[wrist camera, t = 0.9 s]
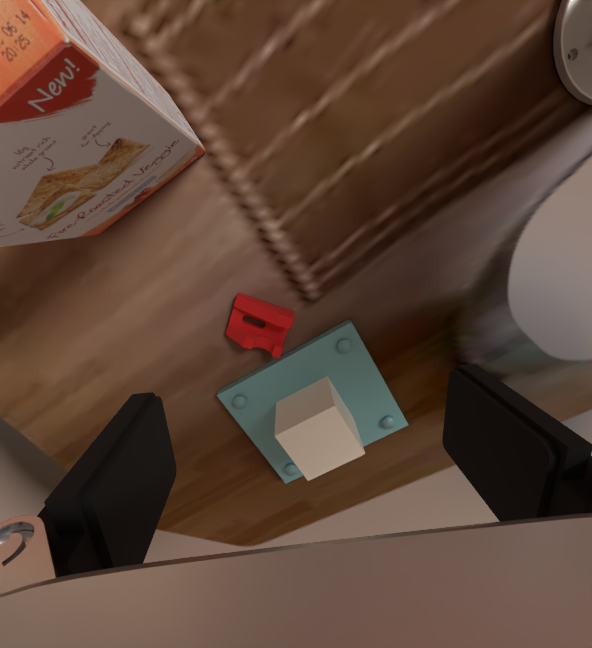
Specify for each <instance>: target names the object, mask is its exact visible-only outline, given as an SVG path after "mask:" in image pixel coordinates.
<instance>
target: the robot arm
mask: <svg viewBox="0 0 592 648" xmlns="http://www.w3.org/2000/svg"><path fill="white" fill-rule="evenodd" d="M553 50H554V59H555V64H556V69H557V71H558V74H559V76H560V79H561V81H562V83H563V84H564V86H565V87H566V88H567V90H568V91H569V92H570V93H571V94H572V95H573V96H574V97H576V98H577V99H578V100H580V101H582V102H584V103H587V104H589V105H592V0H562V1H561V4H560V7H559V11H558V14H557V18H556V22H555V29H554V36H553ZM443 445H444V448H445V450H446V452H447V453H448V454H449V456H450V457H451V458H452V459H453V461H454V462H455V463H456V465H457V466H458V467H459V469H460V470H461V471H462V473H463V474H464V475H465V476H466V478H467V479H468V480H469V482H470V483H471V484H472V486H474V488H475V490H476V491H477V492H478V493H479V495H480V496H481V497H482V499H483V500H484V501H485V502H486V504H487V505H488V506H489V508H490V509H491V510H492V512H493V513H494V514H495V516H496V517H497V518H498V519H499V521H500V522H493V523H484V524H474V525H465V526H456V527H446V528H437V529H429V530H420V531H410V532H402V533H393V534H384V535H375V536H366V537H357V538H349V539H341V540H331V541H323V542H314V543H306V544H297V545H289V546H280V547H272V548H264V549H256V550H248V551H239V552H231V553H222V554H214V555H206V556H198V557H189V558H181V559H173V560H167V561H158V562H151V563H143V561H144V559H145V556H146V553H147V551H148V548H149V546H150V543H151V540H152V538H153V535H154V533H155V530H156V527H157V525H158V522H159V519H160V517H161V514H162V512H163V509H164V506H165V504H166V501H167V498H168V496H169V493H170V490H171V488H172V485H173V483H174V480H175V477H176V463H175V458H174V454H173V449H172V445H171V440H170V436H169V431H168V426H167V422H166V417H165V413H164V408H163V404H162V400H161V398H160V397H159V396H158V397H156V396H155V394H154V393H153V392H152V393H140V394H133V395H132V396H131V397H130V398H129V399H128V400H127V402H126V403H125V404H124V405H123V406H122V408H121V409H120V410H119V411H118V413H117V414H116V415H115V416H114V417H113V419H112V420H111V421H110V422H109V424H108V425H107V426H106V427H105V428H104V430H103V431H102V432H101V433H100V435H99V436H98V437H97V438H96V439H95V441H94V442H93V443H92V444H91V445H90V447H89V448H88V449H87V450H86V452H85V453H84V454H83V455H82V456H81V458H80V459H79V460H78V461H77V463H76V464H75V465H74V466H73V467H72V469H71V470H70V471H69V472H68V474H67V475H66V476H65V477H64V479H63V480H62V481H61V482H60V483H59V485H58V486H57V487H56V488H55V489H54V491H53V492H52V493H51V494H50V496H49V497H48V498H47V499H46V501H45V502H44V503H45V505H46V506H45V507H44V508H43V509H42V511H41V512H40V513H39V514H38V516H34V515H26V516H25V515H24V516H20V517H15V518H12V519H9V520H6V521H4V522H2V523H0V648H592V456H590V455H591V452H592V444H591V443H589V442H588V441H586V440H585V439H584V438H582V437H581V436H579V435H578V434H576V433H575V432H573V431H572V430H570V429H569V428H568V427H566V426H564V425H563V424H562V423H560V422H559V421H557V420H556V419H555V418H553V417H552V416H550V415H549V414H547V413H546V412H544V411H543V410H541V409H540V408H539V407H537V406H536V405H534V404H533V403H531V402H530V401H528V400H527V399H525V398H524V397H523V396H521V395H520V394H518V393H517V392H515V391H514V390H512V389H511V388H510V387H508V386H507V385H505V384H504V383H502V382H501V381H499V380H498V379H496V378H495V377H494V376H492V375H491V374H489V373H488V372H486V371H485V370H483V369H482V368H481V367H479V366H478V365H475V364H472V365H461V366H456V367H455V368H454V371H451V372H450V374H449V381H448V391H447V401H446V410H445V420H444V429H443Z"/></svg>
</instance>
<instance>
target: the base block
mask: <svg viewBox="0 0 592 648" xmlns="http://www.w3.org/2000/svg"><path fill="white" fill-rule="evenodd" d="M275 437H276V439H277V440H278V441H279V443H280V444H281V445H282V447H283V448H284V449H285V451H286V452H287V453H288V455H289V456H290V457H291V459H292V460H293V462H294V463H295V464H296V466H297V467H298V468H299V470H300V471H301V472H302V474H303V475H304V476H305V478H306V479H307V480H308V481H309V480H311V479H313V478H316V477H318V476H320V475H322V474H324V473H326V472H328V471H330V470H332V469H335V468H337V467H339V466H341V465H343V464H345V463H347V462H349V461H351V460H354V459H356V458H358V457H360V456H362V455H364V454H365V451H364V448H363V445H362V442H361V439H360V436H359V433H358V430H357V427H356V424H355V421H354V418H353V417H352V415H351V413H350V412H349V410H348V409H347V407H346V405H345V404H344V402H343V401H342V399H341V397H340V396H339V394H338V392H337V391H336V389H335V388H334V386H333V384H332V383H331V381H330V380H329V378H328V376H326V377H324V378H322V379H320V380H318V381H316V382H315V383H313V384H311V385H309V386H307V387H305V388H303V389H301V390H299V391H297V392H295V393H294V394H292V395H290V396H288V397H286V398H284V399H282V400H280V401H278V402H276V416H275Z"/></svg>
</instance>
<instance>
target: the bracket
mask: <svg viewBox="0 0 592 648" xmlns="http://www.w3.org/2000/svg"><path fill="white" fill-rule="evenodd" d="M244 316H250V317H253V318H256V319H259V320H262V321H264V322H265V323H266V325H265V326H263V327H261V326H258V325H254V324H251V323H248V322H245V321H244V320H243V317H244ZM293 321H294V311H291V310H288V309H285V308H281V307H278V306H275V305H272V304H269V303H266V302H263V301H260V300H257V299H254V298H251V297H250V296H247V295H244V294H241V293H238V295H237V297H236V301H235V304H234V308H233V311H232V314H231V318H230V321H229V324H228V327H227V331H226V335H227V336H229V337H230V338H231V339H233V340H234V341H235V342H237V343H238V344H239V345H241V346H242V347H244V348H247V349H252V348H253V347H259V348H263V349H266V350H267V351H269V352H270V353H271V355H272V356H273V357H276V358H280V356H281V353H282V351H283V341H284V339H285V336H286V333H287V331H288V329H289V330H290V329H291V327H292V324H293Z"/></svg>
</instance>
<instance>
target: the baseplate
mask: <svg viewBox="0 0 592 648" xmlns="http://www.w3.org/2000/svg"><path fill="white" fill-rule="evenodd" d="M326 376H328V378H329V380H330V381H331V383H332V384H333V386H334V388H335V389H336V391H337V392H338V394H339V396H340V397H341V399H342V401H343V402H344V404H345V405H346V407H347V409H348V410H349V412H350V413H351V415H352V417H353V418H354V421H355V424H356V427H357V430H358V433H359V436H360V439H361V442H362V445H363V447H364V446H366V445H368V444H370V443H372V442H374V441H376V440H378V439H381V438H383V437H385V436H387V435H389V434H391V433H393V432H395V431H397V430H399V429H401V428H404V427H406V426H408V423H407V421H406V419H405V418H404V416H403V414H402V412H401V410H400V409H399V407H398V405H397V403H396V401H395V400H394V398H393V396H392V394H391V392H390V390H389V389H388V387H387V385H386V383H385V381H384V380H383V378H382V376H381V374H380V372H379V371H378V369H377V367H376V365H375V363H374V362H373V360H372V358H371V356H370V354H369V352H368V351H367V349H366V347H365V345H364V343H363V342H362V340H361V338H360V336H359V334H358V333H357V331H356V329H355V327H354V325H353V324H352V322H351V320H350V319H348V320H346V321H344V322H342V323H341V324H339V325H337V326H335V327H333V328H331V329H330V330H328V331H326V332H324V333H322V334H320V335H319V336H317V337H315V338H313V339H311V340H310V341H308V342H306V343H304V344H302V345H300V346H299V347H297V348H295V349H293V350H291V351H289V352H288V353H286V354H284V355H282V356H280V358H277V359H275V360H273V361H271V362H269V363H267V364H266V365H264V366H262V367H260V368H258V369H257V370H255V371H253V372H251V373H249V374H247V375H246V376H244V377H242V378H240V379H238V380H236V381H235V382H233V383H231V384H229V385H227V386H225V387H224V388H222V389H220V390H219V391H218V393H217V397H218V398H219V399H220V401H221V402H222V403H223V404H224V406H225V407H226V408H227V409H228V411H229V412H230V413H231V415H232V416H233V417H234V418H235V420H236V421H237V422H238V423H239V425H240V426H241V427H242V429H243V430H244V431H245V432H246V434H247V435H248V436H249V437H250V439H251V440H252V441H253V443H254V444H255V445H256V446H257V448H258V449H259V450H260V452H261V453H262V454H263V455H264V457H265V458H266V459H267V460H268V462H269V463H270V464H271V466H272V467H273V468H274V469H275V471H276V472H277V473H278V474H279V476H280V477H281V478H282V480H283V481H284V482H285V483H289V482H291V481H293V480H295V479H297V478H299V477H301V476H303V474H302V472H301V471H300V470H299V468H298V467H297V466H296V464H295V463H294V462H293V460H292V459H291V457H290V456H289V455H288V453H287V452H286V451H285V449H284V448H283V447H282V445H281V444H280V443H279V441H278V440H277V439H276V437H275V416H276V402H278V401H280V400H282V399H284V398H286V397H288V396H290V395H292V394H294V393H295V392H297V391H299V390H301V389H303V388H305V387H307V386H309V385H311V384H313V383H315V382H316V381H318V380H320V379H322V378H324V377H326Z"/></svg>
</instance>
